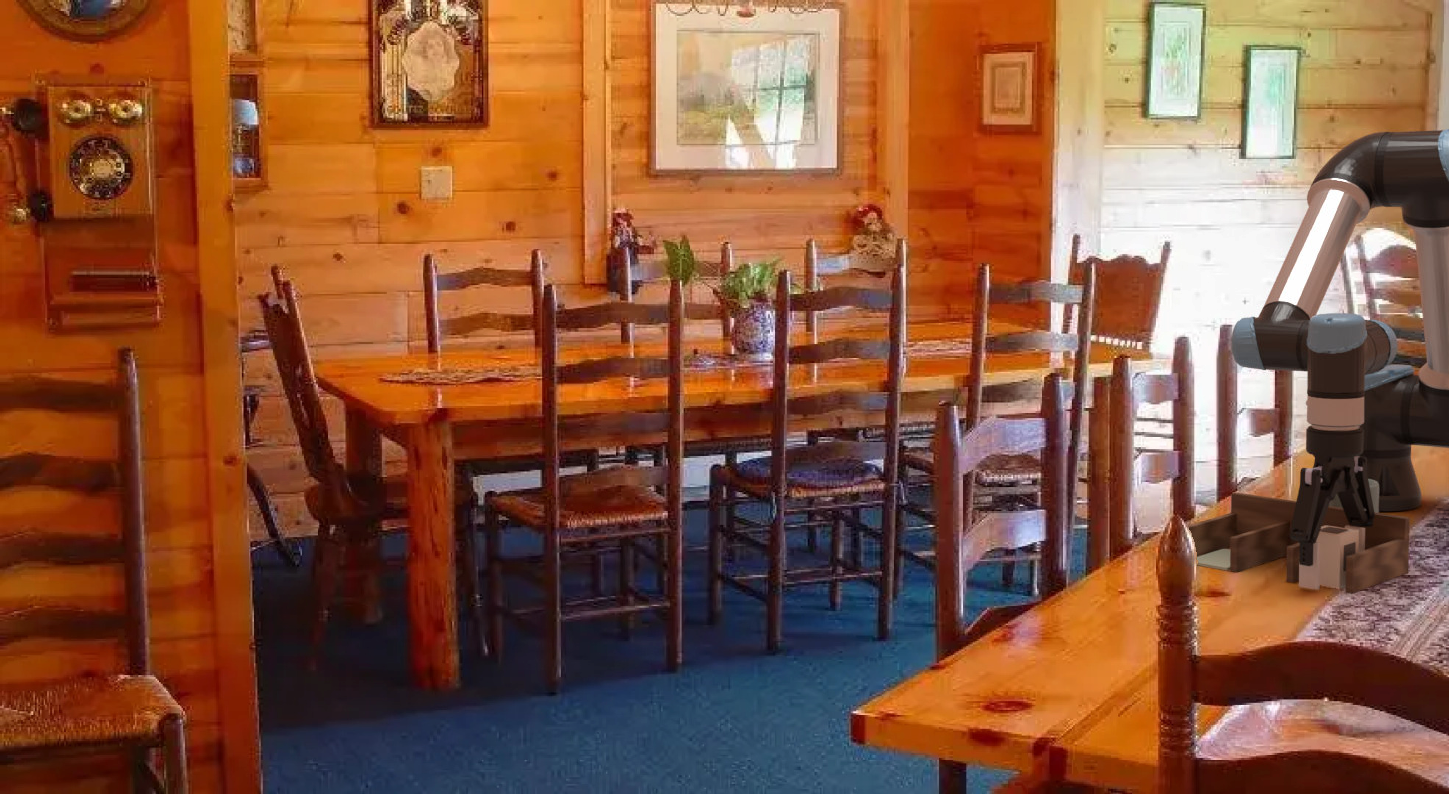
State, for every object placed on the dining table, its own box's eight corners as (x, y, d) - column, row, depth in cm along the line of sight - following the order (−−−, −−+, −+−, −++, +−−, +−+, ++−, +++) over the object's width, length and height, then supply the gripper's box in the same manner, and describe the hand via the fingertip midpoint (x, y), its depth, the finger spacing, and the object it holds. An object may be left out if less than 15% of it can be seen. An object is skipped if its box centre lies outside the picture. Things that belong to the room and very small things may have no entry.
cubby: (1235, 543, 270) (1235, 492, 269) (1408, 572, 250) (1409, 517, 249) (1176, 561, 260) (1177, 508, 259) (1352, 593, 239) (1353, 536, 238)
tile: (1223, 551, 266) (1223, 548, 266) (1264, 558, 260) (1264, 555, 260) (1185, 563, 259) (1185, 560, 259) (1227, 570, 254) (1227, 568, 254)
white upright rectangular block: (1324, 576, 249) (1325, 524, 248) (1358, 582, 245) (1359, 529, 244) (1306, 583, 246) (1307, 530, 245) (1339, 589, 242) (1341, 535, 241)
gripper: (1353, 412, 253) (1350, 560, 256) (1263, 434, 237) (1261, 591, 240) (1403, 417, 247) (1399, 568, 250) (1314, 440, 232) (1311, 600, 235)
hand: (1331, 579), depth 245 cm, fingers open, 11 cm apart
